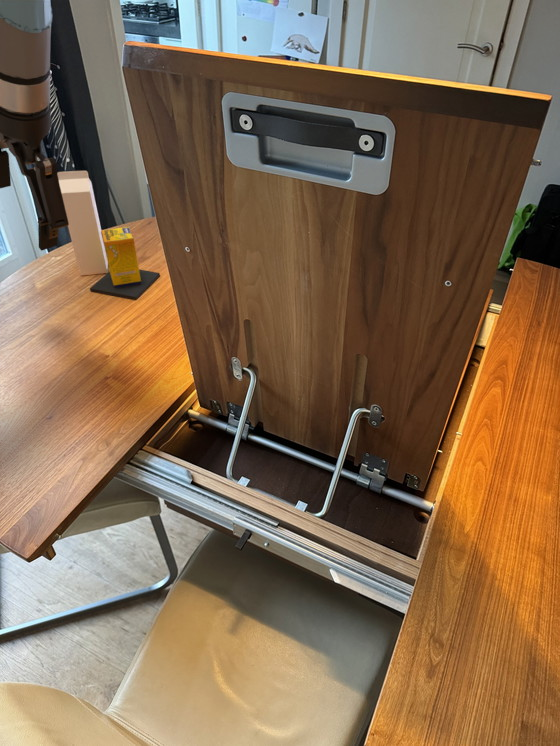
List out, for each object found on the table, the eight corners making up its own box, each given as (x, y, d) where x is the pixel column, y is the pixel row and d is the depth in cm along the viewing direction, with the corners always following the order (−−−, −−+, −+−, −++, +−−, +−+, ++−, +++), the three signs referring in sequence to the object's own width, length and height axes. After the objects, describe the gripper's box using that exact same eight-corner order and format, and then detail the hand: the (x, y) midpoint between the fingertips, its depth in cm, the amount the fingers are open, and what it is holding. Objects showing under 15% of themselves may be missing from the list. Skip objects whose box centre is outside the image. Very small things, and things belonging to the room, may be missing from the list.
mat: (90, 291, 111) (89, 288, 111) (116, 268, 120) (116, 265, 119) (136, 300, 109) (135, 297, 109) (160, 276, 117) (159, 272, 117)
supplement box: (110, 276, 115) (100, 229, 108) (137, 272, 117) (129, 226, 110) (113, 289, 111) (103, 241, 104) (141, 284, 113) (133, 237, 106)
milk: (81, 263, 121) (57, 167, 107) (108, 261, 122) (88, 165, 108) (80, 276, 116) (54, 177, 102) (108, 273, 118) (86, 175, 104)
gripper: (100, 158, 66) (89, 264, 83) (-5, 30, 70) (5, 157, 87) (45, 171, 62) (45, 280, 79) (-64, 34, 66) (-41, 167, 83)
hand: (24, 216), depth 83 cm, fingers open, 13 cm apart
